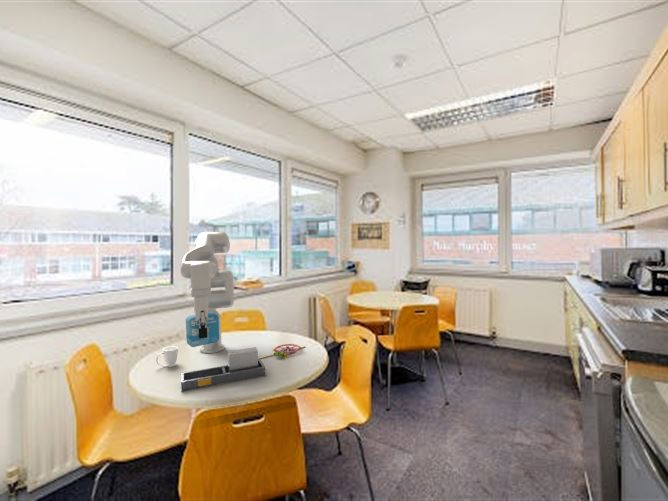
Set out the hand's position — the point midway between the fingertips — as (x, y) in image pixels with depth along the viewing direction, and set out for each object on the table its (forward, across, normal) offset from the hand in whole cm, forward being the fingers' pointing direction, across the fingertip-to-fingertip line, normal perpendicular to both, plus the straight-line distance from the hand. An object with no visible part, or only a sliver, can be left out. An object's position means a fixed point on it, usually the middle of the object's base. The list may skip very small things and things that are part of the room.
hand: (202, 335), depth 141 cm
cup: (+20, -27, -14) cm, 36 cm away
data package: (+4, 0, 0) cm, 4 cm away
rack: (+20, 0, +8) cm, 21 cm away
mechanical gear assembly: (+20, -18, +38) cm, 47 cm away
